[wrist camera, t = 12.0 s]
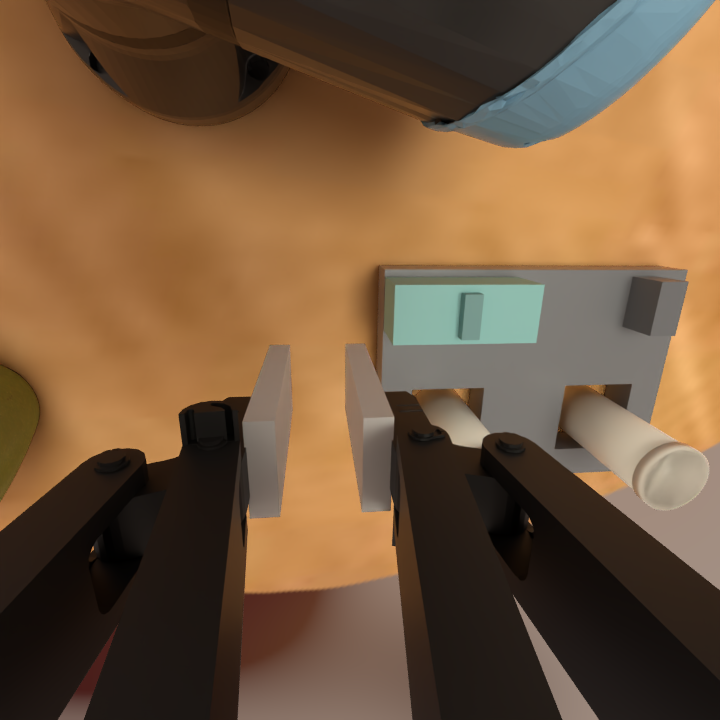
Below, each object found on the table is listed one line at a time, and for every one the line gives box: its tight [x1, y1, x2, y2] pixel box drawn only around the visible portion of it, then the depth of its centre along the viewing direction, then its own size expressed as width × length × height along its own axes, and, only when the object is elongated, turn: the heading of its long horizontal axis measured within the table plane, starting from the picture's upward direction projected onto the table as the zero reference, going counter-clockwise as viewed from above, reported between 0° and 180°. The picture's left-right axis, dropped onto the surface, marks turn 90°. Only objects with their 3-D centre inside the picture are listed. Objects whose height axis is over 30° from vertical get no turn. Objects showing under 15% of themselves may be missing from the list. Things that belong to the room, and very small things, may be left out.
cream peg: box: [558, 385, 709, 510], centre depth 34 cm, size 5×5×12 cm
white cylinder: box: [415, 389, 490, 449], centre depth 33 cm, size 5×5×12 cm
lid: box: [384, 277, 545, 345], centre depth 30 cm, size 4×10×5 cm, turn 89°
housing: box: [376, 265, 688, 473], centre depth 35 cm, size 18×24×6 cm
